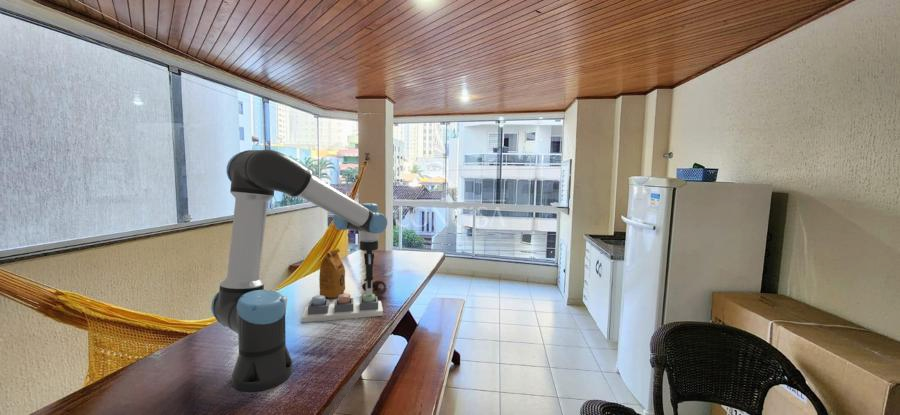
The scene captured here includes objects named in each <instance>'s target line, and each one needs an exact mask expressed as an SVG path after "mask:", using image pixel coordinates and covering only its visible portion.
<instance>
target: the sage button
mask: <svg viewBox="0 0 900 415" xmlns="http://www.w3.org/2000/svg"><path fill="white" fill-rule="evenodd" d="M362 297H363V303H365V302H375V295H374V294H373V293H372V295H368V296H366V293H365V294H363V295H362Z"/></svg>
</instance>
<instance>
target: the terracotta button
mask: <svg viewBox="0 0 900 415" xmlns="http://www.w3.org/2000/svg"><path fill="white" fill-rule="evenodd" d="M351 298H352V297H351V294H350V293H341V294H340V295H338V296H337V299H338V304H349V303H350V300H351Z"/></svg>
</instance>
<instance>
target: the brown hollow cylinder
mask: <svg viewBox="0 0 900 415" xmlns="http://www.w3.org/2000/svg"><path fill="white" fill-rule="evenodd" d="M379 285H382V286H383V288H381V287H379ZM361 289H363V291H365V292H366V282H363V284H362V285H361ZM386 292H387V286H386V283H385V282H384V281H382V280H372V294H374V295H375V296H377V298H378V297H380V296H381V297H382V296H383V295H385V293H386Z"/></svg>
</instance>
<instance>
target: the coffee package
mask: <svg viewBox="0 0 900 415" xmlns="http://www.w3.org/2000/svg"><path fill="white" fill-rule="evenodd" d="M340 251H341V250H340V249H339V248H335V249H332V250H329V251H328V252H327V253H326V254H325V256H324V258H323V259H322V261H321V264H320V267H319V276H318V277H319V279H318V280H319V295H323V296H325V299H327V298H329V299H331V298H333V299H334V298H335V299H336V298H338V295H340V294H343V293H344V292H345V291H346V270H345V265H344V263H343V261H342V260H341V258H340V256H339V253H340Z"/></svg>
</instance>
